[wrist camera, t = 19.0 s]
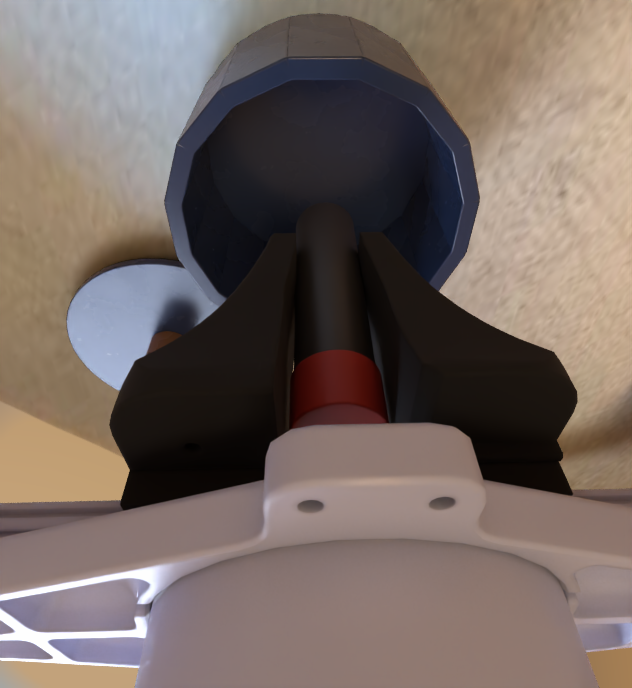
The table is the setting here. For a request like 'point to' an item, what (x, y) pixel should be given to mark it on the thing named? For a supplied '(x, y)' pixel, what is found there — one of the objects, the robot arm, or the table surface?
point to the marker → (332, 327)
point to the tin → (318, 152)
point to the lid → (132, 314)
